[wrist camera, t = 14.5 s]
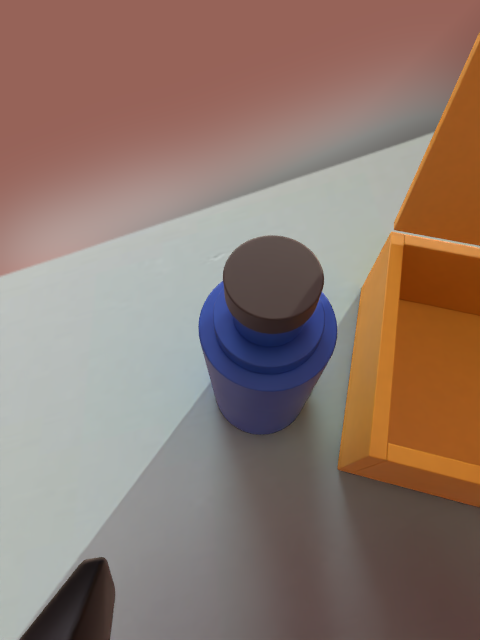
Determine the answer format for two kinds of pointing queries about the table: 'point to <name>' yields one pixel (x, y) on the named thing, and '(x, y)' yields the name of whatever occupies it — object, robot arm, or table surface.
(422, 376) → the box
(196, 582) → the table surface
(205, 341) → the bottle
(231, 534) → the table surface
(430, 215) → the lunchbox lid
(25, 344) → the table surface
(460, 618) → the table surface
